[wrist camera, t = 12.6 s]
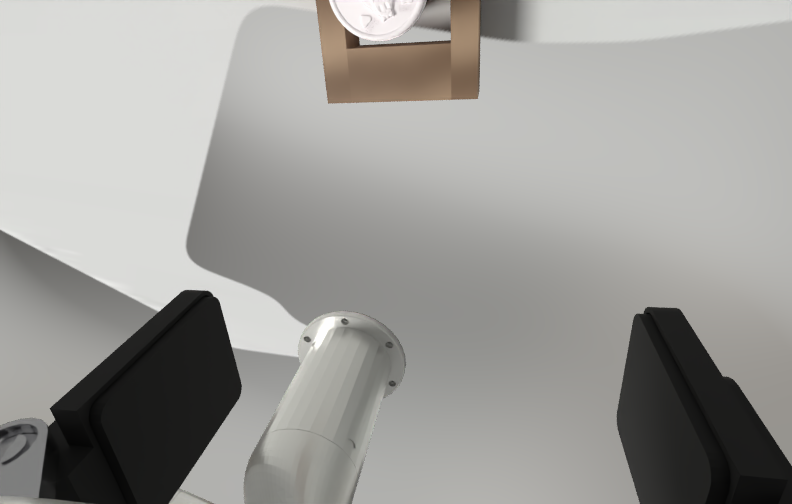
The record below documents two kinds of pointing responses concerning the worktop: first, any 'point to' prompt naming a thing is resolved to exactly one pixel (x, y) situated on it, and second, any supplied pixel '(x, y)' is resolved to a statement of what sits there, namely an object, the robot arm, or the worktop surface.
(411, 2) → the smoothie
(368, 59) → the cutout board
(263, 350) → the worktop surface
